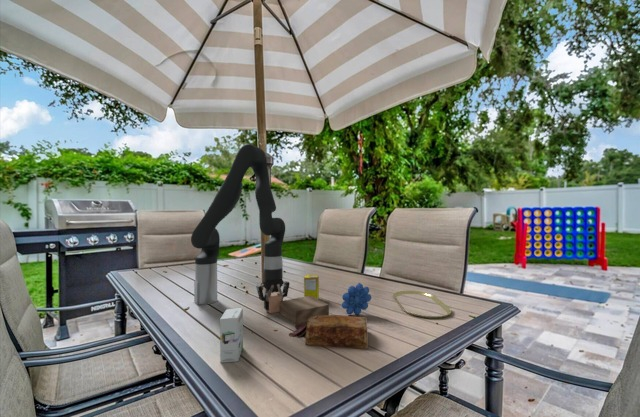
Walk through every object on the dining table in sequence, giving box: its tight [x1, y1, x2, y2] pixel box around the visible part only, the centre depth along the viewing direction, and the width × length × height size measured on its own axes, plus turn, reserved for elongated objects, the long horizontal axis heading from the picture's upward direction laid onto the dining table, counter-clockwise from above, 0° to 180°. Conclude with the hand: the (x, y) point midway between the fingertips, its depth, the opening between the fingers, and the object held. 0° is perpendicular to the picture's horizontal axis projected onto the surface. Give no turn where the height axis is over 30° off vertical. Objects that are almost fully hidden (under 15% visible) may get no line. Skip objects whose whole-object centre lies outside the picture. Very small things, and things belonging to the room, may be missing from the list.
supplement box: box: [303, 274, 320, 300], centre depth 134 cm, size 6×6×11 cm
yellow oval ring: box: [392, 290, 452, 320], centre depth 127 cm, size 19×35×2 cm, turn 178°
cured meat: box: [288, 314, 369, 350], centre depth 96 cm, size 18×25×7 cm
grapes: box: [341, 283, 372, 315], centre depth 115 cm, size 12×7×12 cm, turn 95°
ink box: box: [219, 307, 244, 364], centre depth 83 cm, size 8×5×12 cm, turn 6°
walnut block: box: [279, 296, 330, 325], centre depth 115 cm, size 14×14×5 cm
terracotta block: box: [267, 292, 282, 314], centre depth 120 cm, size 5×5×6 cm
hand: (273, 308), depth 120 cm, fingers closed on terracotta block, 5 cm apart
